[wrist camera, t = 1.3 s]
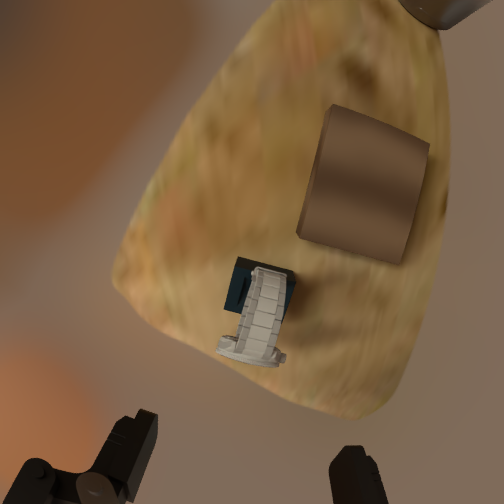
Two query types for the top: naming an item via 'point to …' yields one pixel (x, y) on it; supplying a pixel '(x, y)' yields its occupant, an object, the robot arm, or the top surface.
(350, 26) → the top surface
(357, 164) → the plinth
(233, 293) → the watch
